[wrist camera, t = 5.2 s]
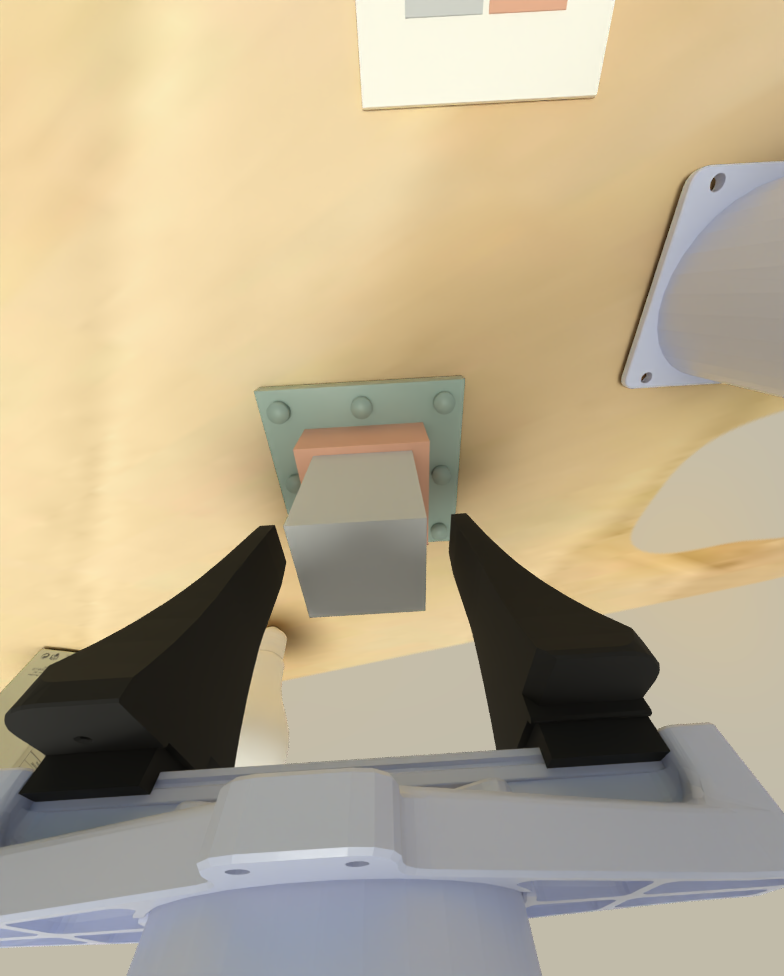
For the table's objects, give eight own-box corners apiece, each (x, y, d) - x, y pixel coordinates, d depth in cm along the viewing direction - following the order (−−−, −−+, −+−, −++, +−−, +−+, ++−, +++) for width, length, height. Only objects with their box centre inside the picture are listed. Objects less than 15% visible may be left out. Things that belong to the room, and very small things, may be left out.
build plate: (461, 375, 15) (467, 381, 14) (451, 532, 21) (455, 545, 19) (259, 387, 15) (250, 394, 14) (300, 541, 21) (296, 555, 19)
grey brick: (412, 450, 14) (426, 517, 10) (413, 528, 16) (425, 610, 12) (313, 455, 14) (283, 526, 9) (328, 533, 16) (309, 617, 12)
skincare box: (41, 645, 25) (-197, 889, 15) (101, 652, 26) (-84, 888, 16) (60, 685, 28) (-126, 910, 18) (113, 690, 29) (-36, 909, 19)
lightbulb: (293, 658, 27) (248, 845, 18) (223, 637, 26) (133, 833, 16) (324, 620, 25) (292, 815, 15) (250, 594, 23) (161, 797, 14)
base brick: (422, 422, 16) (429, 441, 14) (422, 517, 19) (428, 544, 17) (304, 429, 16) (292, 449, 14) (323, 523, 19) (316, 551, 17)
